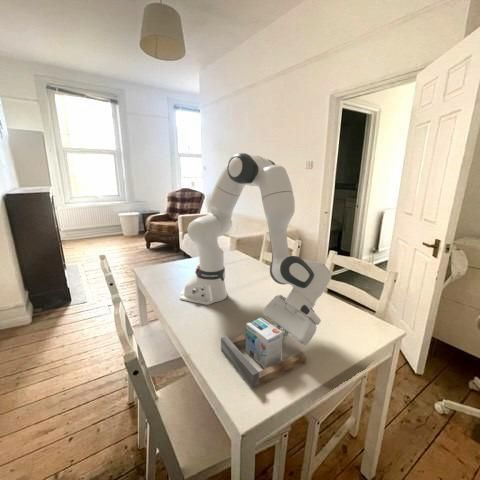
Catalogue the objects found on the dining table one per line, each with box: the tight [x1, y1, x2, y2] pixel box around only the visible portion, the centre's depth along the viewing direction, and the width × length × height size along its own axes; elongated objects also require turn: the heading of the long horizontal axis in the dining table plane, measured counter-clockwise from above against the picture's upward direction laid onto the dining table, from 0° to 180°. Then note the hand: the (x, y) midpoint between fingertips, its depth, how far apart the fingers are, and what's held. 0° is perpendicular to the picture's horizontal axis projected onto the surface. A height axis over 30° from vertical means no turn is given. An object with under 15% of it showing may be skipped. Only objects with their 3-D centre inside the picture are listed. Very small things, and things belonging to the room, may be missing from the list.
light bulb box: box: [245, 317, 284, 370], centre depth 86 cm, size 11×7×11 cm, turn 37°
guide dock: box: [220, 333, 307, 391], centre depth 86 cm, size 20×19×5 cm
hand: (273, 339), depth 88 cm, fingers closed
